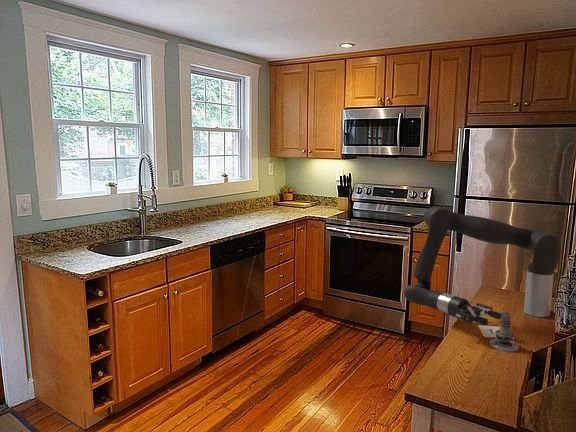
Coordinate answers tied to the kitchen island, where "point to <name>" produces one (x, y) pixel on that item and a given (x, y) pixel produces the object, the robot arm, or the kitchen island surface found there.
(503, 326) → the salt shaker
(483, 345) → the kitchen island surface
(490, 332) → the card
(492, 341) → the coaster
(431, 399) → the kitchen island surface
